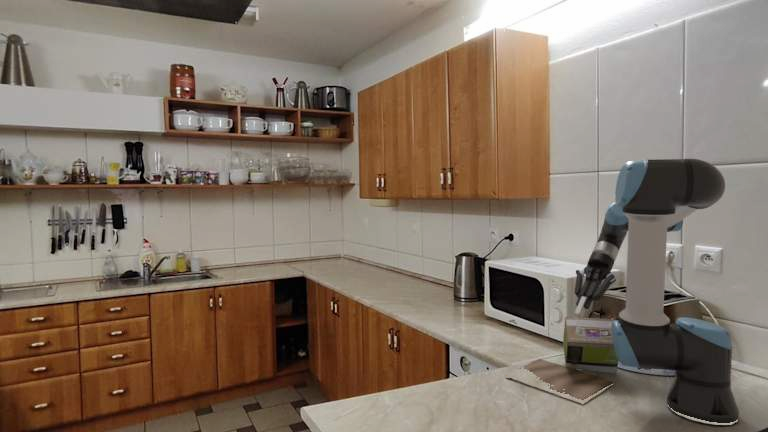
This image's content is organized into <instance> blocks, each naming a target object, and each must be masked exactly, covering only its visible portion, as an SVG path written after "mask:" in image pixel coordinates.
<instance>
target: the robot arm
mask: <svg viewBox="0 0 768 432" xmlns="http://www.w3.org/2000/svg"><path fill="white" fill-rule="evenodd" d="M725 191H726V181H725V178H724V176H723V174H722V172H721V171H720V170H719V169H718V168H717V167H716V166H714V165H713V164H712V163H710V162H708V161H705V160H702V159H697V158H672V159H671V158H666V159H665V158H663V159H646V158H645V159H638V160H635V159H634V160H629V161H626V162H625V163H624V164H623V165H622V166H621V168H620V170H619V173H618V176H617V179H616V185H615V193H614V194H615V196H614V197H615V198H614V199H615V200H614V201H615V202H613V203H611V204H610V205H609V206H608V208H607V210H606V212H605V214H604V218H603V219H604V220H603V224H602V227H601V231H600V234H599V236H598V239H597V241H596V243H595V245H594V247H593V250H592V252H591V254H590V256H589V259H588V261H587V265H586V266H585V267H584V268H583V269H582V270H580V269H576V270H575V273H576V279H575V286H574V294H575V296H576V298H577V300H576V302H575V305H576V308H575V311H574V314H575V316H576V317H580V318H584V314H585V312H586V310H589V309H590V307H591V305H592V302H593V301H596V302H599V301H600V300H601V299H602V297H603V296H604V294H605V293H606V292H607V290H608V289H609V288H610V287H611V286H612V284H614V283H615V282H616V281H617V278H616V277H615V275H614V274H612V273H611V271H612V269H613V267H614V265H615V262H616V259H617V257H618V255H619V253H620V248H622V245H623V242H624V240H625V239H626V236H627V255H626V256H627V259H626V284H625V285H626V287H625V288H626V289H625V308H624V309H622V310H621V311H619V314H618V319H616V320H615V321H612V323H611V324H612V325H611V333H612V340H613V345H614V350H615V353H616V356H617V359H618V363H619V364H621V365H622V366H624V367H631V368H637V369H652V370H663V371H664V370H665V371H675V373H674V379H673V381H672V384H671V387H670V389H669V391H668V393H667V396H666V405H667V404H668V405H669V407H670V408H672V409H673V410H674V411H676V412H679V413H681V414H684V415H687V416H690V417H694V418H697V419H701V420H705V421H709V422H717V423H730V422H734V421H736V420H737V419H738V418H739V416H740V412H739V408H738V405H737V402H736V400H735V396H734V394H733V391H732V387H731V386H732V385H731V380H732V357H733V356H732V354H733V349H734V348H733V346H732V345H733V342H732V334H731V332H730V331H729V330H728V329H727V328H725V327H723V326H722V325H719V324H717V323H713V322H710V321H707V320H703V319H699V318H692V317H686V316H685V317H684V316H683V317H678V318H676V321H675V323H671V320H670V317H668V316H667V314H665V313H664V309H665V307H664V304H665V303H664V302H665V287H666V286H665V282H666V264H667V263H666V261H667V258H666V256H667V238H668V233H670V232H679V231H681V230H682V227H683V225H684V219H686V218H687V217H688V216H690V215H692V214H693V213H695V212H696V211H698V210H704V209H707V208H710V207H712V206H713V205H715V204H716V203H717V202H719V201H720V200H721V198H722V197H723V196H724V193H725ZM584 277H585V280H584V279H583V278H584ZM739 419H740V418H739Z"/></svg>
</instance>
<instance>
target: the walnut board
mask: <svg viewBox="0 0 768 432" xmlns="http://www.w3.org/2000/svg"><path fill="white" fill-rule="evenodd" d="M523 366H524V369H527V370H529V371H530V372H533V374H535V375H536V376H537V377H540V379H539V380H543V382H546V383H549V384H550V388H549V389H552V390H556V391H557V392H560V393H563V392H565V393H564V394H569V395H570V396H572V397H575V398H577V399H581V400H584V399H586V398H588V397H589V396H591V395H593V394H595V393H597V392H598V391H600V390H602V389H603V388H605V387H607V386H609V385H611V384H613V383H614V384H615V380H612V379H610V378H606V377H603V376H600V375H595V374H593V373H588V372H586V371H584V370H576V369H572V368H569V367H566V366H565V365H563V364H558V363H555V362H551V361H548V360H546V359H541V358H538V359H536V360H534V361H533V362H532V361H531V362H530V363H528V364H525V365H523ZM519 369H521V367H519ZM537 377H536V378H537ZM551 385H554V386H551ZM548 386H549V385H548ZM563 389H565V390H563Z"/></svg>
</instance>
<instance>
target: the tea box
mask: <svg viewBox="0 0 768 432" xmlns="http://www.w3.org/2000/svg"><path fill="white" fill-rule="evenodd" d="M615 320H617V319H616V318H615V319H613V318H599V317H598V318H595V317H593V318H592V317H583V318H580V317H577V316H576V317H575V316H572V317H571V316H565V317H564V325H563V326H564V328H563V340H562V341H563V342H562V344H563V354H564V355H563V356H564V366H566V367H569V368H572V369H582V370H581V371H586V370H591V371H590V372H597V371H599V373H608V372H609V373H611V374H616V373H617V371H618V365H619V361H618V359H617V356H616V353H615V350H614V345H613V340H612V333H611V325H612V324H611V323H612V321H615Z"/></svg>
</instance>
